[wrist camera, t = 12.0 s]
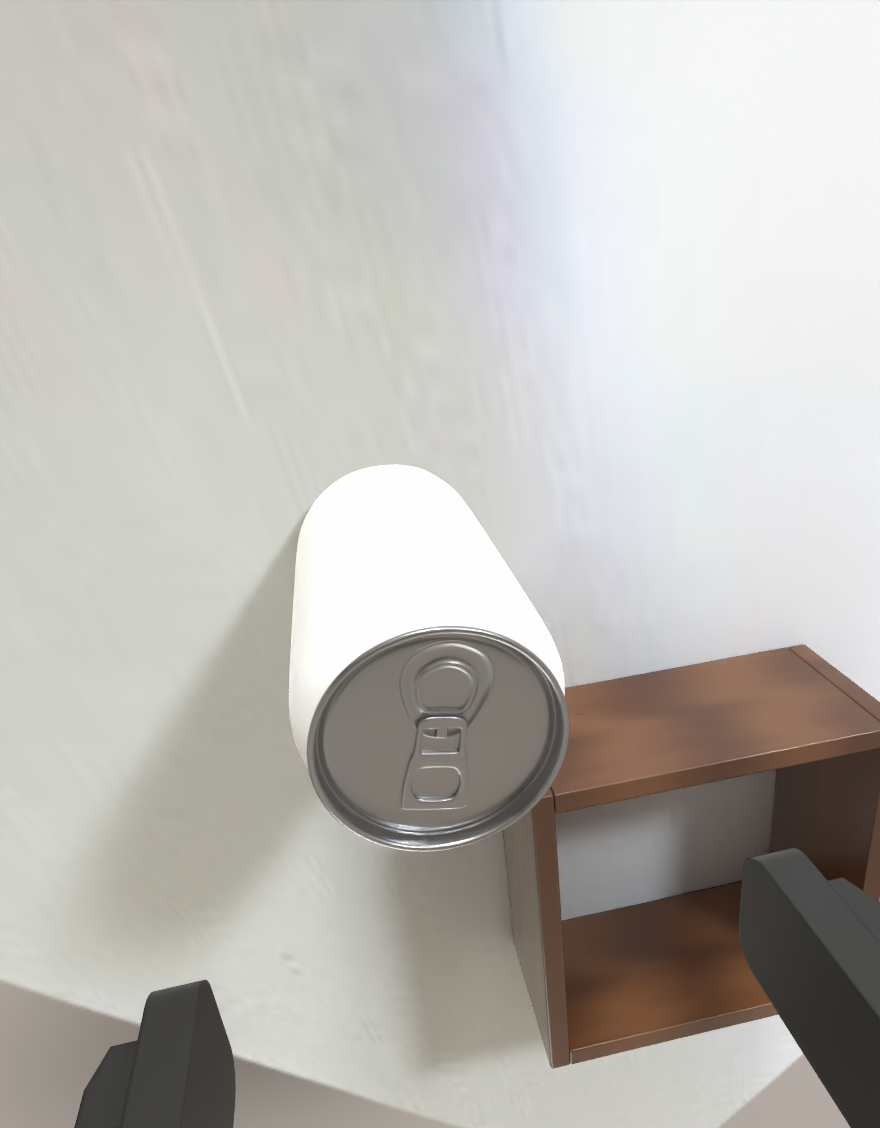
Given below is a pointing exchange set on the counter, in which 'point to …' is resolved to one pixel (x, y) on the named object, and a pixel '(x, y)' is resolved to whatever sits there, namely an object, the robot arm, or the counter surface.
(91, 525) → the counter surface
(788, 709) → the crate
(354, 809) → the can
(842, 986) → the robot arm
